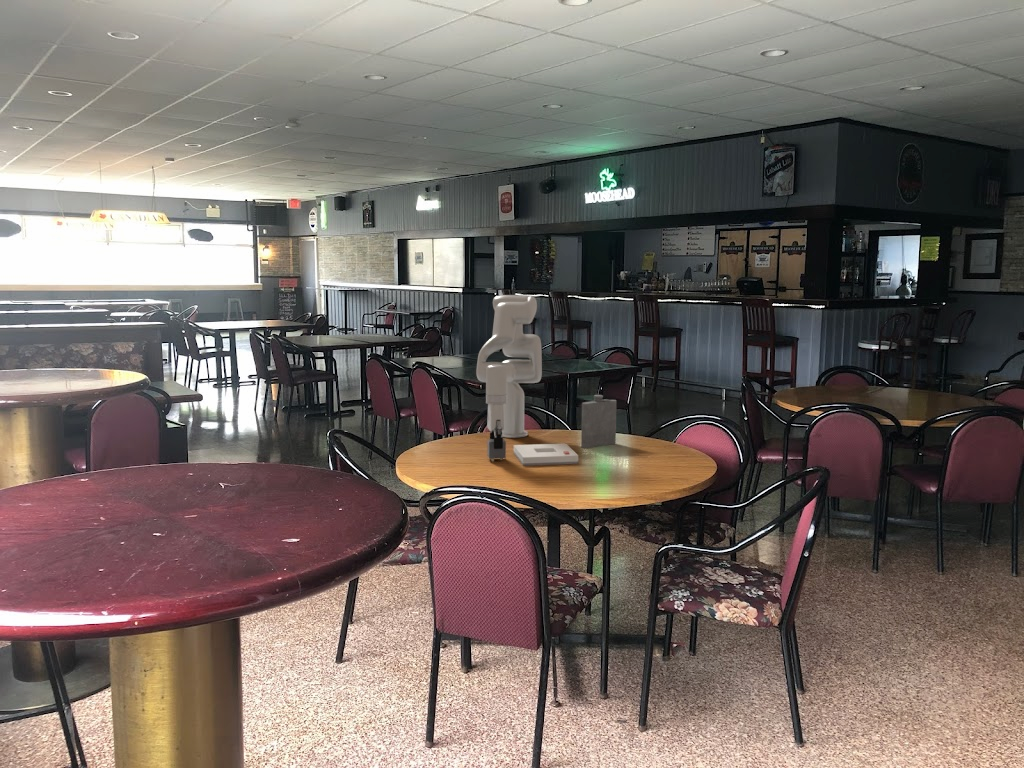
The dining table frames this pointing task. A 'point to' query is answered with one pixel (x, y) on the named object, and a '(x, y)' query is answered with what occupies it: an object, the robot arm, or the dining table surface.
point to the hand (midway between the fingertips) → (496, 445)
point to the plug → (495, 450)
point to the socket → (545, 454)
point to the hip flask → (598, 422)
